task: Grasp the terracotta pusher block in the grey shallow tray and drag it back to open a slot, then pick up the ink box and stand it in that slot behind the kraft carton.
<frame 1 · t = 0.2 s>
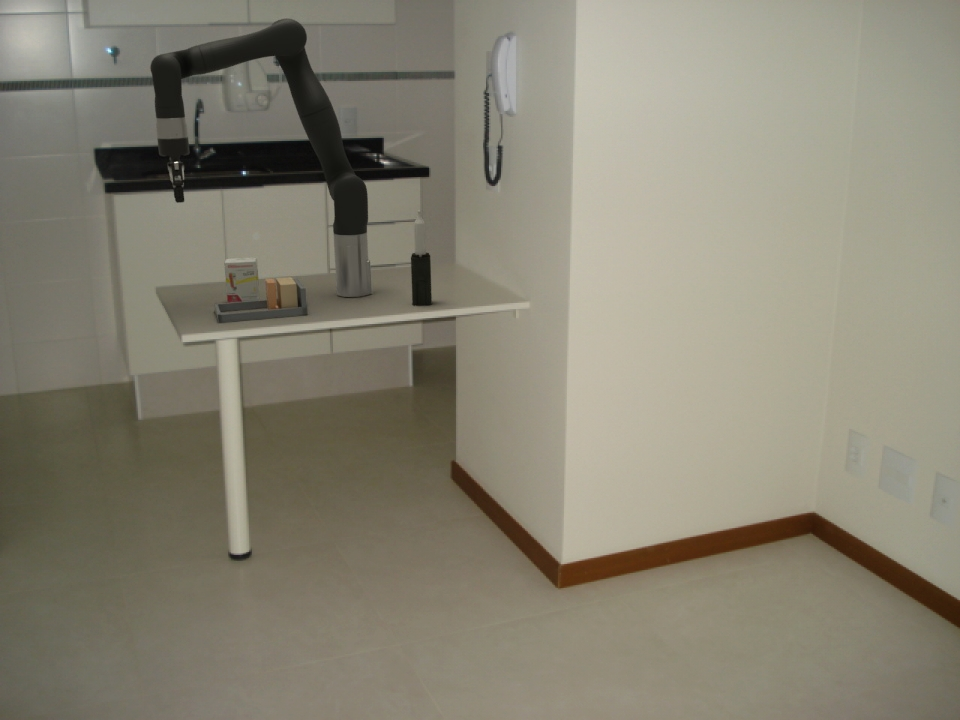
hand: (179, 200, 259), 29 cm above the table, fingers open, 8 cm apart
pusher: (271, 295, 260), point 4 cm above the table, slide at 0.0 cm
kraft carton: (288, 311, 263), resting in grey shallow tray
grey shallow tray: (260, 313, 261), on the table
ink box: (243, 303, 273), on the table
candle: (422, 304, 269), on the table
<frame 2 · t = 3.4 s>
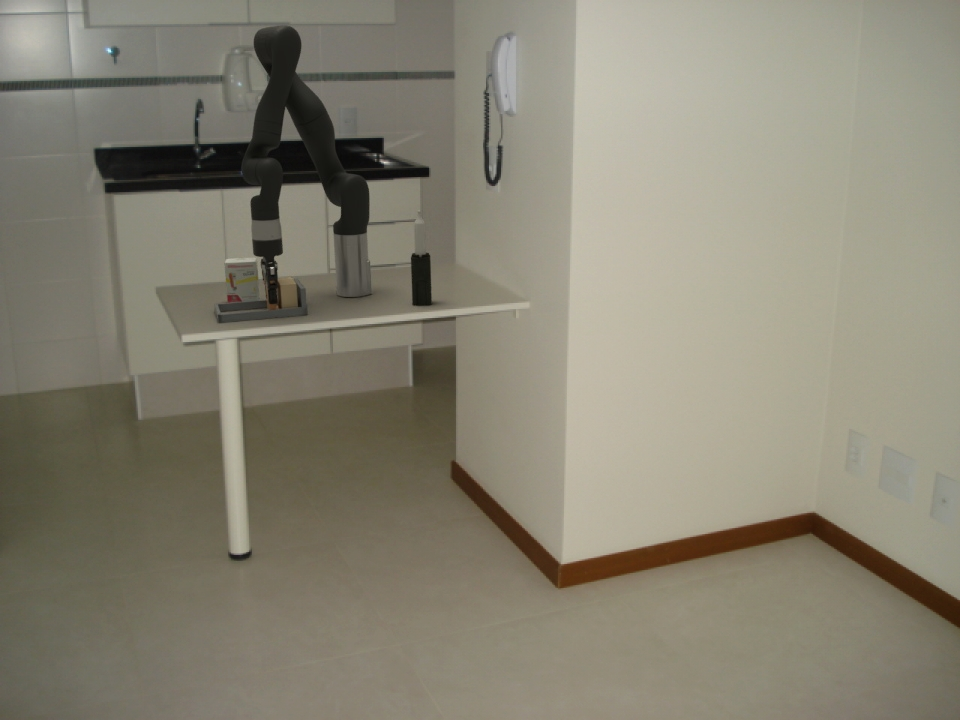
hand: (271, 301, 261), 3 cm above the table, fingers closed on pusher, 5 cm apart
pusher: (271, 295, 260), point 4 cm above the table, slide at 0.0 cm, touching gripper
everything else where it was.
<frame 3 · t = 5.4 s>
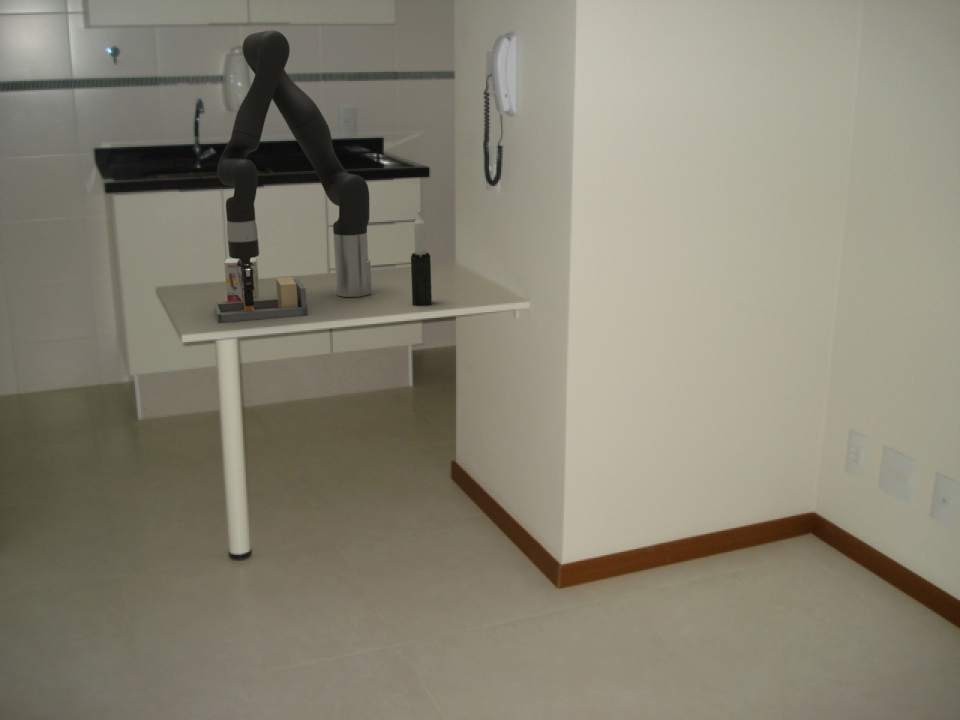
hand: (248, 303, 259), 3 cm above the table, fingers closed on pusher, 5 cm apart
pusher: (247, 297, 259), point 4 cm above the table, slide at 6.0 cm, touching gripper
everything else where it was.
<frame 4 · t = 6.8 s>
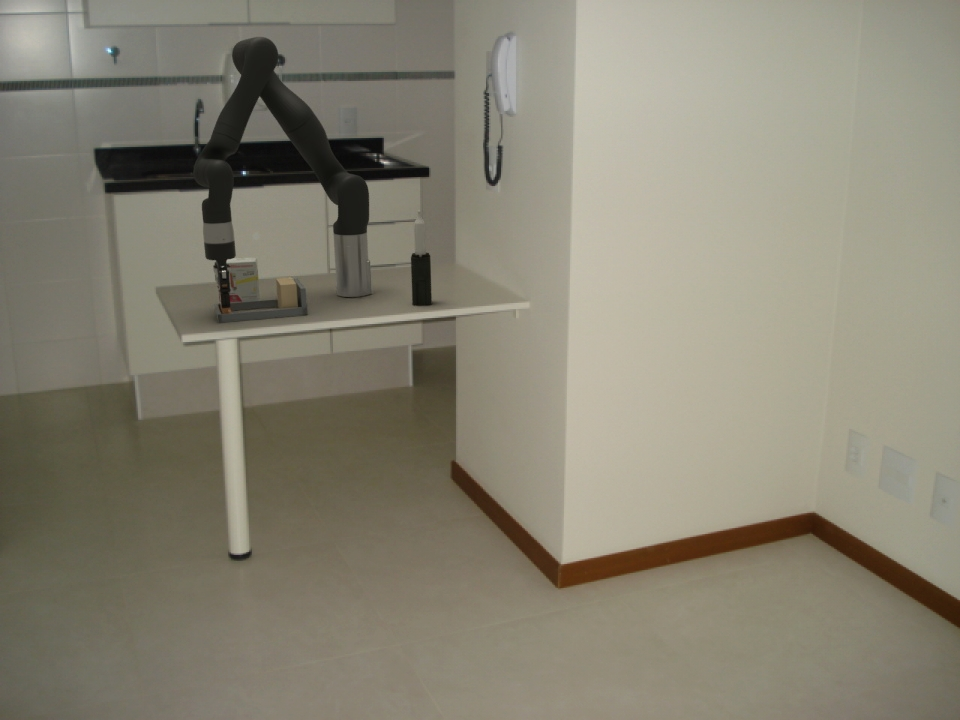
hand: (225, 305, 257), 3 cm above the table, fingers closed on pusher, 5 cm apart
pusher: (224, 299, 257), point 4 cm above the table, slide at 11.9 cm, touching gripper
everything else where it was.
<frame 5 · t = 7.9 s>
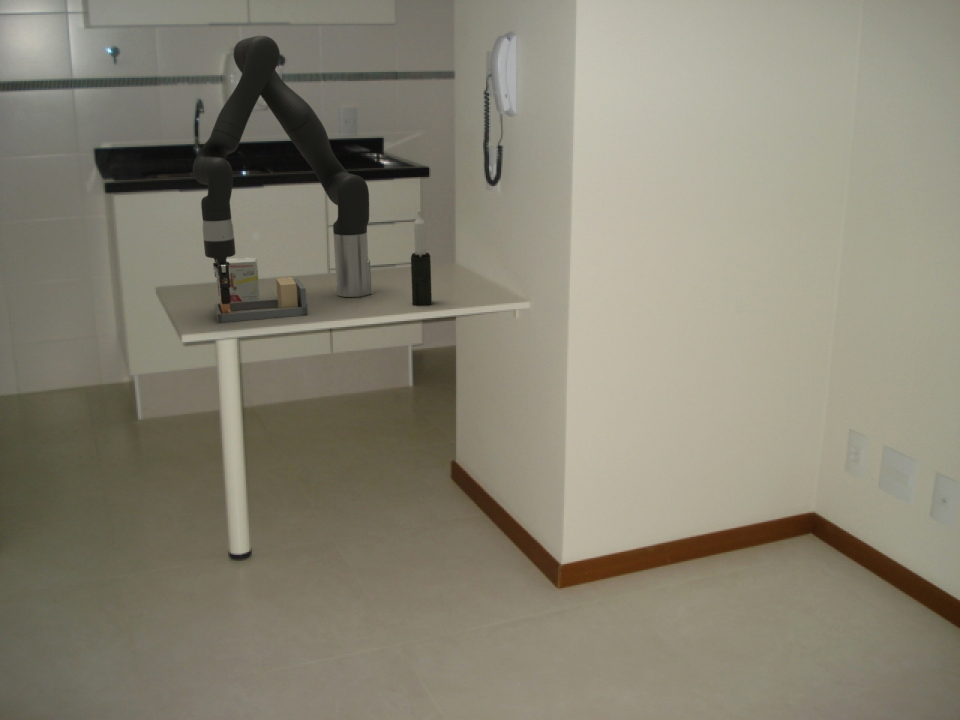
hand: (224, 300, 257), 4 cm above the table, fingers open, 8 cm apart
pusher: (224, 299, 257), point 4 cm above the table, slide at 11.9 cm
everything else where it was.
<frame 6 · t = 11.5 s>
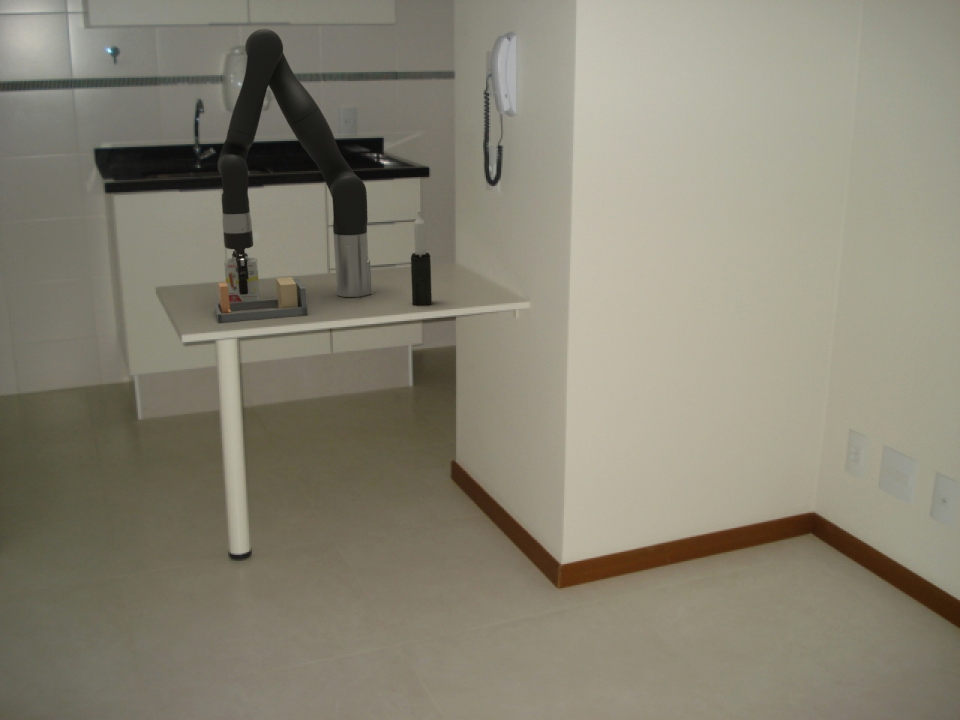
hand: (242, 291, 272), 3 cm above the table, fingers closed on ink box, 5 cm apart
ink box: (243, 303, 273), on the table, touching gripper
everything else where it was.
when the fingers open (4 cm above the table, at t = 17.2 s): ink box drops 1 cm, resting in grey shallow tray.
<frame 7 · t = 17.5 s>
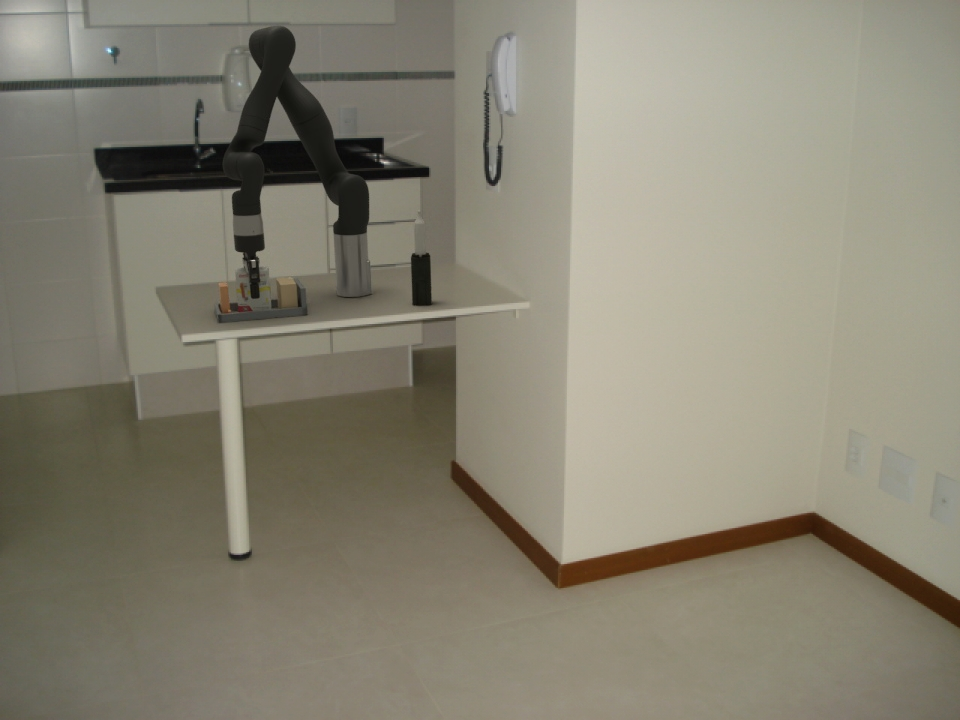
hand: (253, 295, 259), 5 cm above the table, fingers open, 7 cm apart
ink box: (255, 314, 260), resting in grey shallow tray
everything else where it was.
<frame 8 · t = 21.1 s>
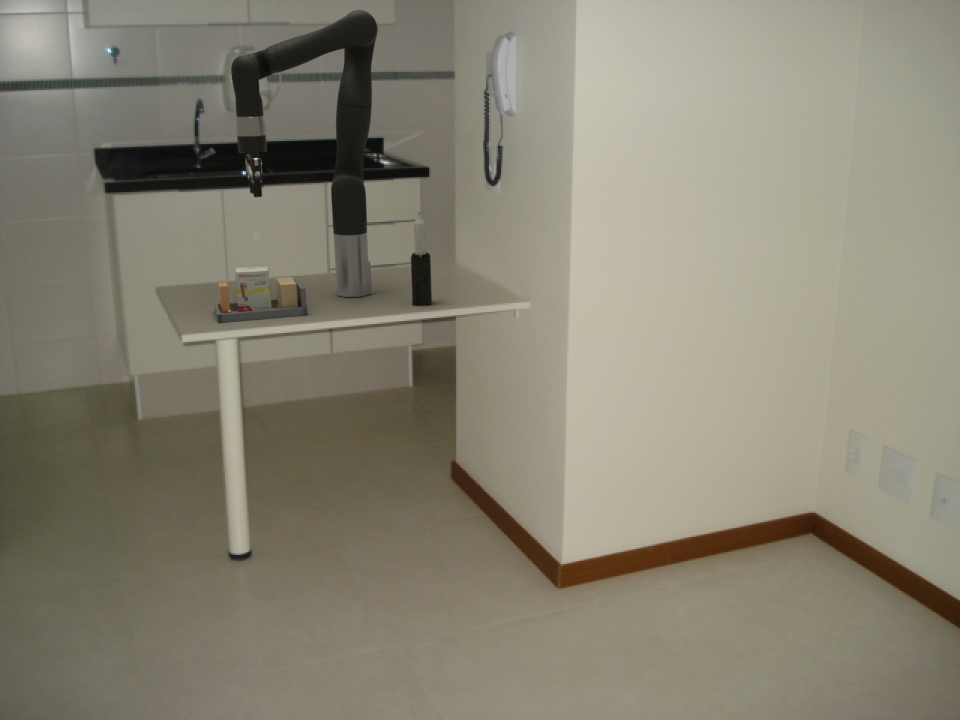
hand: (256, 195, 271), 28 cm above the table, fingers open, 8 cm apart
nothing on the table moved.
at the end: ink box inside the target area (0.3 cm from its centre), resting in grey shallow tray; ink box tilted 0°; pusher slide at 11.9 cm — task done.
